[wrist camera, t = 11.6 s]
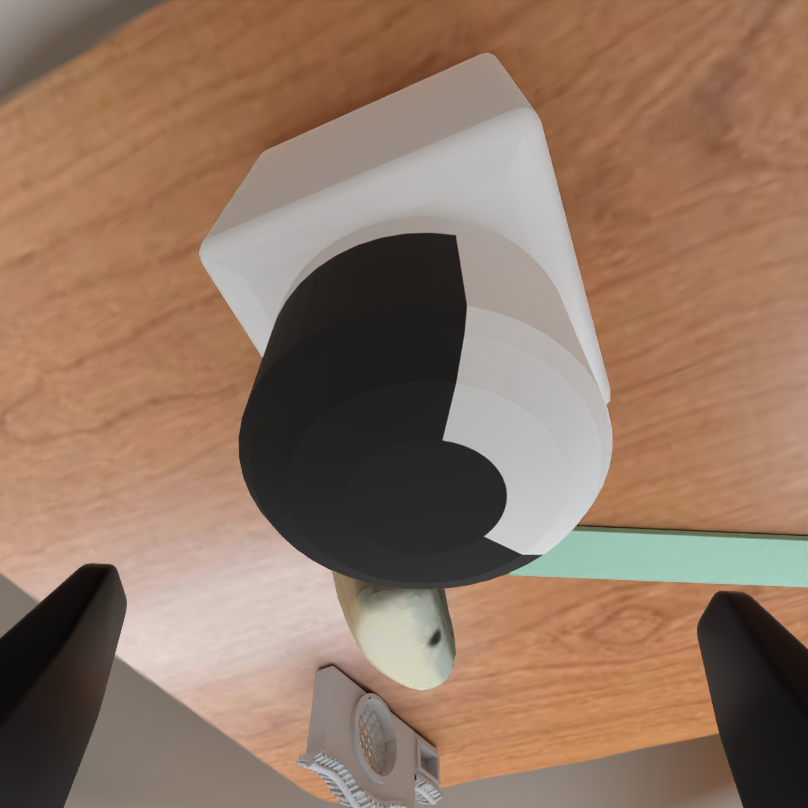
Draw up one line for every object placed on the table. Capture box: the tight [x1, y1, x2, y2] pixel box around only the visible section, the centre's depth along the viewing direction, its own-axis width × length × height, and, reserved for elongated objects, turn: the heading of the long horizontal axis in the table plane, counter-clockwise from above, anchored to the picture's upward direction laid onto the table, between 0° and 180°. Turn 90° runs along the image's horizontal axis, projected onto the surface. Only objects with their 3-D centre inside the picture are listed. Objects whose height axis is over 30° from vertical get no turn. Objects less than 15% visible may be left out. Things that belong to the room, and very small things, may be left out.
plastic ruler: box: [509, 526, 808, 587], centre depth 29 cm, size 15×3×1 cm, turn 87°
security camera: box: [199, 53, 612, 589], centre depth 14 cm, size 7×7×12 cm
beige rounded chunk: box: [332, 571, 456, 691], centre depth 23 cm, size 6×5×8 cm
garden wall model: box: [296, 666, 443, 808], centre depth 35 cm, size 12×2×6 cm, turn 32°
